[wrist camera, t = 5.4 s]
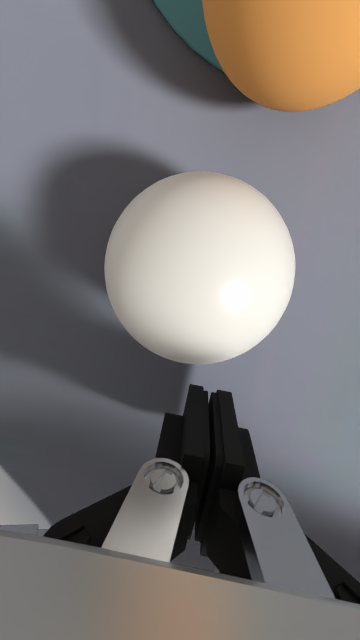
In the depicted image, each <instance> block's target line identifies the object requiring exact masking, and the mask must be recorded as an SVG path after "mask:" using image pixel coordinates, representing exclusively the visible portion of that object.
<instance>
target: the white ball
mask: <svg viewBox="0 0 360 640" xmlns="http://www.w3.org/2000/svg"><path fill="white" fill-rule="evenodd" d="M104 272H105V283H106V288H107V293H108V297H109V300H110V303H111V305H112V308H113V310H114V312H115V314H116V316H117V317H118V319H119V321H120V322H121V324H122V325H123V326H124V328H125V329H126V330H127V331H128V333H129V334H130V335H131V336H132V337H133V338H134V339H135V340H136V341H138V342H139V343H140V344H141V345H143V346H144V347H145V348H147V349H148V350H150V351H152V352H153V353H155V354H157V355H159V356H161V357H163V358H166V359H169V360H172V361H176V362H180V363H187V364H211V363H217V362H221V361H225V360H228V359H231V358H233V357H236V356H239V355H241V354H243V353H244V352H246V351H248V350H250V349H251V348H253V347H254V346H255V345H257V344H258V343H259V342H260V341H262V340H263V339H264V338H265V337H266V336H267V335H268V334H269V333H270V332H271V331H272V329H273V328H274V327H275V326H276V324H277V323H278V321H279V320H280V318H281V316H282V314H283V313H284V311H285V309H286V307H287V305H288V302H289V300H290V297H291V293H292V289H293V285H294V276H295V254H294V249H293V243H292V240H291V237H290V234H289V231H288V229H287V227H286V225H285V223H284V221H283V219H282V217H281V215H280V214H279V213H278V211H277V210H276V208H275V207H274V206H273V204H272V203H271V202H270V201H269V200H268V199H267V198H266V197H265V196H264V195H263V194H261V193H260V192H259V191H258V190H256V189H255V188H254V187H252V186H250V185H249V184H247V183H245V182H243V181H242V180H240V179H237V178H234V177H232V176H229V175H226V174H222V173H217V172H209V171H194V172H185V173H181V174H177V175H173V176H169V177H167V178H164V179H162V180H160V181H157V182H156V183H154V184H153V185H151V186H149V187H148V188H146V189H145V190H143V191H142V192H141V193H140V194H139V195H137V196H136V197H135V198H134V199H133V200H132V201H131V202H130V203H129V204H128V206H127V207H126V208H125V209H124V211H123V212H122V214H121V215H120V217H119V218H118V220H117V221H116V223H115V226H114V228H113V230H112V232H111V235H110V238H109V241H108V245H107V249H106V255H105V265H104Z"/></svg>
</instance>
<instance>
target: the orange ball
mask: <svg viewBox="0 0 360 640" xmlns="http://www.w3.org/2000/svg"><path fill="white" fill-rule="evenodd" d="M202 3H203V11H204V18H205V23H206V27H207V31H208V35H209V39H210V42H211V45H212V47H213V50H214V53H215V55H216V57H217V59H218V61H219V63H220V65H221V67H222V69H223V71H224V72H225V74H226V75H227V77H228V78H229V79H230V81H231V82H232V83H233V84H234V85H235V86H236V87H237V88H238V89H239V91H240V92H241V93H243V94H244V95H245V96H246V97H248V98H249V99H251V100H253V101H254V102H256V103H258V104H260V105H262V106H264V107H267V108H270V109H274V110H279V111H286V112H296V111H307V110H312V109H316V108H319V107H323V106H326V105H329V104H331V103H333V102H336V101H338V100H340V99H342V98H344V97H346V96H348V95H349V94H351V93H353V92H354V91H356V90H358V89H359V88H360V0H202Z"/></svg>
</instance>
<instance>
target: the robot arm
mask: <svg viewBox="0 0 360 640" xmlns="http://www.w3.org/2000/svg"><path fill="white" fill-rule="evenodd" d="M194 522H195V541H200V542H201V550H200V555H202V556H207V557H209V559H210V560H211V561H212V562H213V564H214V565H215V568H214V572H212V571H207V570H202V569H198V568H193V567H189V566H184V565H179V564H175V563H170V561H171V560H173V559H174V558H175V557H177V556H178V555H179V554H180V553H182V552H183V551H184V550H185V547H186V543H187V539H190V538H191V534H192V530H193V526H194ZM0 640H360V583H359V582H358V581H357V580H356V579H354V578H353V577H352V576H351V575H350V574H349V573H348V572H347V571H346V570H344V569H343V568H342V567H341V566H340V565H339V564H338V563H337V562H335V561H334V560H333V559H332V558H331V557H330V556H329V555H328V554H326V553H325V552H324V551H323V550H322V549H321V548H320V547H319V546H317V545H316V544H315V543H314V542H313V541H312V540H311V539H310V538H308V537H307V536H306V535H305V534H304V533H303V530H302V528H301V526H300V524H299V522H298V520H297V518H296V516H295V514H294V512H293V510H292V508H291V506H290V504H289V502H288V500H287V498H286V497H285V495H284V493H283V492H282V491H281V490H280V489H279V488H278V487H276V486H275V485H274V484H272V483H271V482H269V481H266V480H264V479H261V478H260V475H259V471H258V467H257V463H256V459H255V455H254V451H253V446H252V442H251V438H250V434H249V431H248V430H247V429H243V428H238V425H237V419H236V414H235V409H234V403H233V398H232V393H231V392H227V391H222V390H217V392H216V393H214V392H212V393H211V396H210V400H209V404H208V391H204V390H203V387H202V386H197V385H192V384H190V386H189V390H188V395H187V400H186V404H185V409H184V414H183V416H180V415H175V414H170V413H165V417H164V421H163V426H162V430H161V435H160V439H159V444H158V449H157V453H156V458H155V459H152V460H149V461H147V462H146V463H144V464H143V465H142V467H141V468H140V470H139V472H138V474H137V476H136V478H135V480H134V482H133V484H132V485H131V486H129V487H127V488H125V489H123V490H121V491H119V492H117V493H115V494H112V495H110V496H108V497H106V498H104V499H102V500H100V501H98V502H96V503H94V504H92V505H90V506H88V507H86V508H84V509H82V510H80V511H78V512H76V513H74V514H72V515H70V516H68V517H66V518H64V519H62V520H60V521H59V522H57V523H56V524H54V525H53V526H51V527H50V529H42V530H41V529H40V530H39V529H38V524H36V525H0Z"/></svg>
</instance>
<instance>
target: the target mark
mask: <svg viewBox="0 0 360 640" xmlns="http://www.w3.org/2000/svg"><path fill="white" fill-rule="evenodd" d="M153 1H154V3H155V5H156V7H157V8H158V9H159V11H160V12H161V13H162V15H163V16H164V18H165V19H166V20H167V22H168V23H169V24H170V26H171V27H172V28H173V30H174V31H175V32H176V33H177V34H178V35H179V36H180V37H181V38H182V39H183V40H184V41H185V42H186V43H187V44H188V45H189V47H190V48H191V49H192V50H194V51H195V52H196V53H197V54H199V55H200V56H201V57H203V58H204V59H205V60H206V61H208V62H209V63H210V64H212V65H213V66H214V67H216V68H218V69H220V70H221V71H223V69H222V67H221V65H220V63H219V61H218V59H217V57H216V55H215V53H214V50H213V47H212V45H211V42H210V39H209V35H208V31H207V27H206V23H205V18H204V11H203V3H202V0H153ZM223 72H224V71H223Z"/></svg>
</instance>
